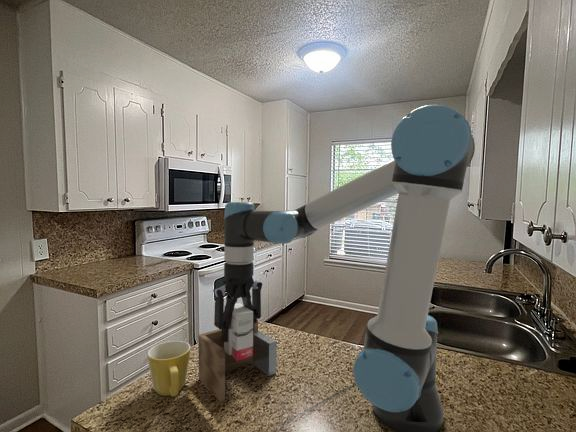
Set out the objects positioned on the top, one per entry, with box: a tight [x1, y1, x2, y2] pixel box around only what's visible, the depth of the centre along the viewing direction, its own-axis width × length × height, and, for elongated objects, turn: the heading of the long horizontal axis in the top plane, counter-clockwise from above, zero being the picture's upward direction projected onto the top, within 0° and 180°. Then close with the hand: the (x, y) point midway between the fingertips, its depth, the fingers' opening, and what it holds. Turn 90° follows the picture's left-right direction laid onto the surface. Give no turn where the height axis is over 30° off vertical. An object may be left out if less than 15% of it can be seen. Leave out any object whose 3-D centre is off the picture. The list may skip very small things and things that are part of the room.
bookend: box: [251, 331, 278, 377], centre depth 89 cm, size 8×2×9 cm, turn 40°
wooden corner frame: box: [198, 319, 259, 403], centre depth 84 cm, size 12×18×13 cm, turn 130°
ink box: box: [224, 302, 253, 361], centre depth 83 cm, size 8×5×12 cm, turn 34°
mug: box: [147, 340, 192, 397], centre depth 79 cm, size 14×10×10 cm
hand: (238, 349), depth 83 cm, fingers closed on ink box, 5 cm apart
